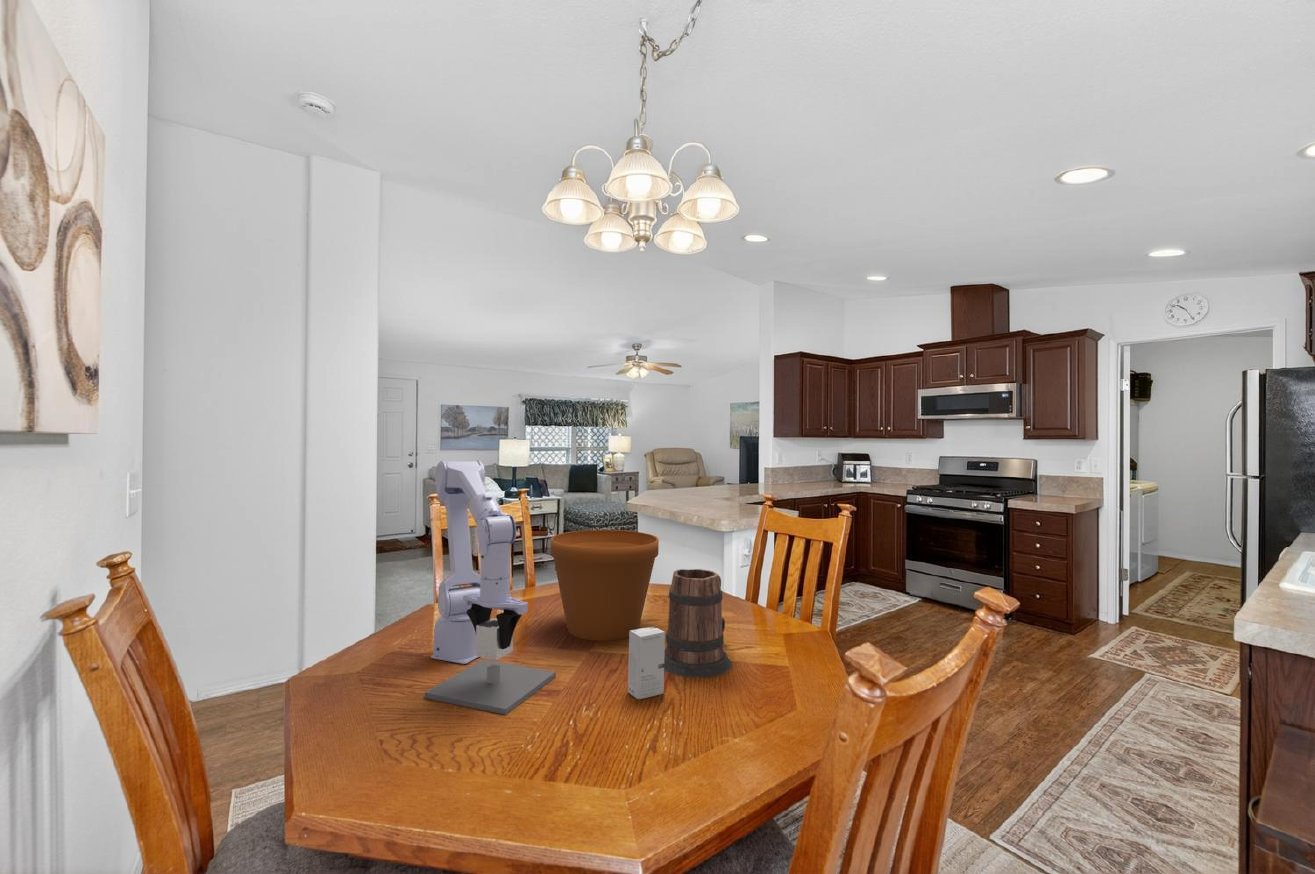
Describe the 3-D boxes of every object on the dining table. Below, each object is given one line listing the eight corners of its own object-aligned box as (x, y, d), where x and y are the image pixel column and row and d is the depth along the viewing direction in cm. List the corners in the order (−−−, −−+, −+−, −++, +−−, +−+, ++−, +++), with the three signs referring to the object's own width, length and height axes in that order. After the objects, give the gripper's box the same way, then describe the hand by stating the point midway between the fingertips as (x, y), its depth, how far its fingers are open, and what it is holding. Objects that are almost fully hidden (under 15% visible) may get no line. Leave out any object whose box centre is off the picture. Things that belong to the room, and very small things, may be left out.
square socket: (475, 655, 116) (476, 625, 116) (492, 647, 120) (493, 618, 120) (496, 660, 114) (496, 628, 114) (512, 651, 118) (513, 621, 118)
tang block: (424, 697, 111) (424, 676, 111) (482, 663, 128) (483, 645, 128) (505, 714, 105) (506, 692, 105) (555, 676, 122) (556, 657, 122)
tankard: (713, 684, 120) (715, 586, 120) (642, 667, 128) (644, 575, 128) (753, 649, 141) (754, 565, 141) (689, 636, 149) (690, 557, 149)
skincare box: (638, 700, 112) (639, 637, 112) (626, 692, 116) (627, 630, 116) (665, 693, 115) (666, 631, 115) (652, 685, 119) (653, 625, 119)
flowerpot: (676, 624, 158) (678, 536, 158) (614, 656, 134) (616, 553, 134) (594, 606, 173) (596, 526, 173) (525, 632, 149) (527, 539, 149)
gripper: (537, 576, 117) (536, 644, 117) (480, 568, 123) (479, 633, 123) (515, 584, 111) (514, 656, 111) (456, 575, 117) (454, 644, 117)
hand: (494, 645), depth 117 cm, fingers closed on square socket, 5 cm apart
